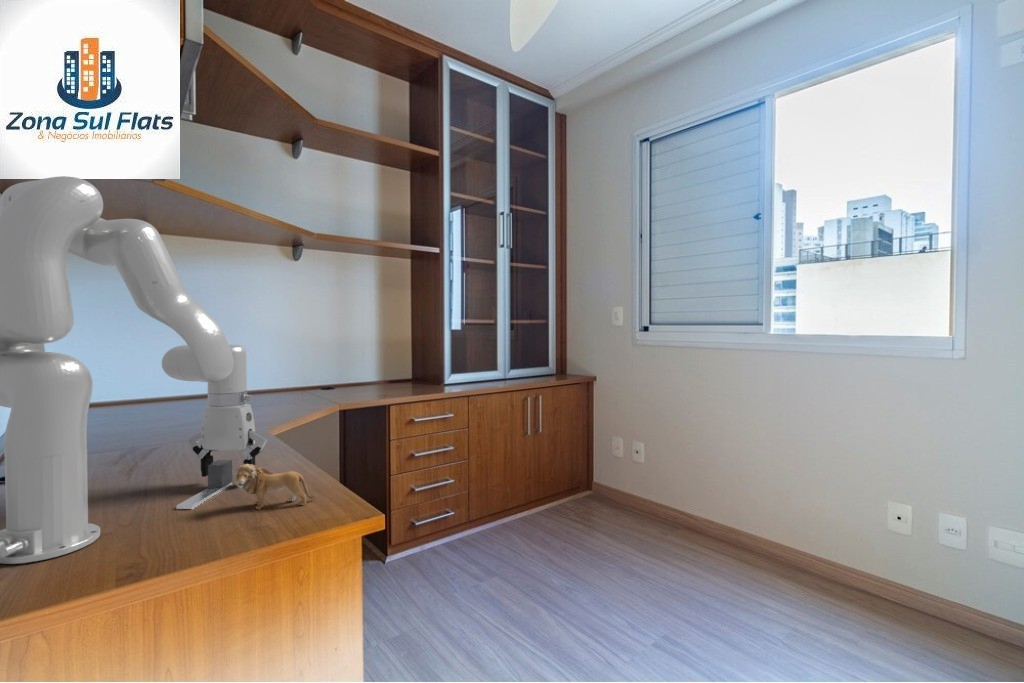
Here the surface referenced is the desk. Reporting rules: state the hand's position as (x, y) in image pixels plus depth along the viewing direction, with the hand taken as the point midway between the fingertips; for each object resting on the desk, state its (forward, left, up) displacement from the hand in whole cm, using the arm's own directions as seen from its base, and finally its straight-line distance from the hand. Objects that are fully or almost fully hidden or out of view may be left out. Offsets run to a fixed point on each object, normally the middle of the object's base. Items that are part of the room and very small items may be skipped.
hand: (228, 475), depth 107 cm
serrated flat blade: (-7, 0, -3) cm, 8 cm away
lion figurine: (-12, -16, -3) cm, 20 cm away
